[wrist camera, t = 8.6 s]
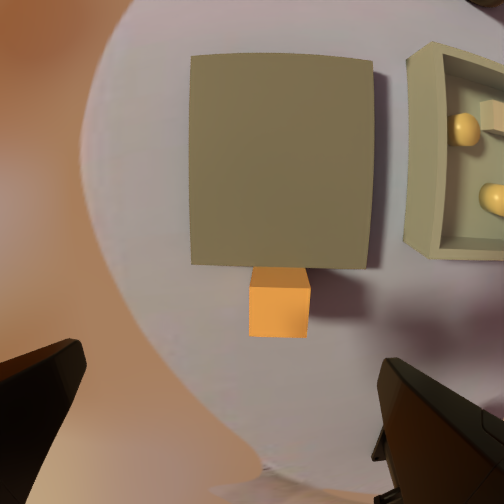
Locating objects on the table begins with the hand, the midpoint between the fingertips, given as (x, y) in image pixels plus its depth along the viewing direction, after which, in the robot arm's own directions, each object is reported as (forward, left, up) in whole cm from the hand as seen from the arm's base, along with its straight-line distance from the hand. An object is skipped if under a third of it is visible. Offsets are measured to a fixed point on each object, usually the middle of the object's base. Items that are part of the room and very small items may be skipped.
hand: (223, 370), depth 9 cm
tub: (+7, -15, -12) cm, 20 cm away
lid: (+4, -2, -13) cm, 13 cm away
